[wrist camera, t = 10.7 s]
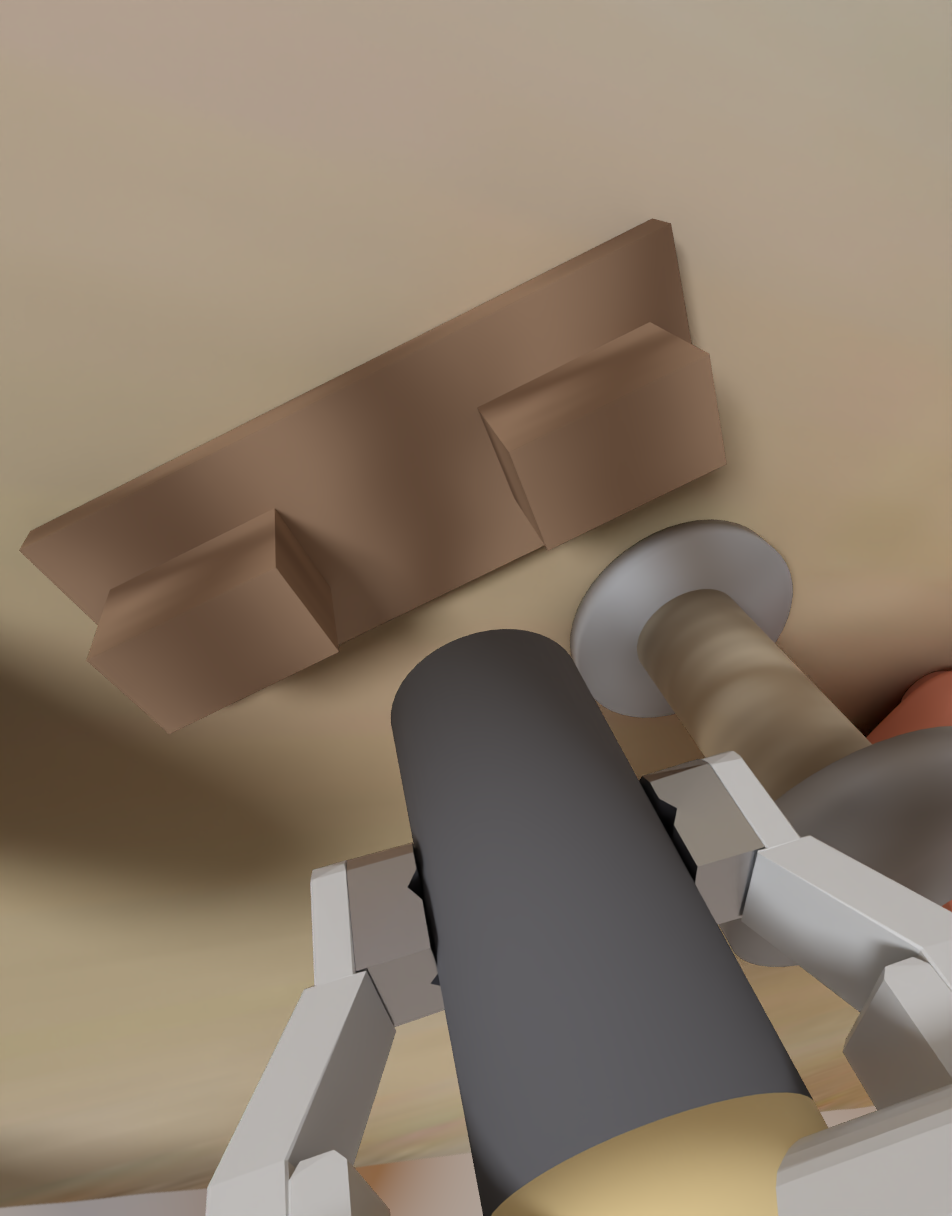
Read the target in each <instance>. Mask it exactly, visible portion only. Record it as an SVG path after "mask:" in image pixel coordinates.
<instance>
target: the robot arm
mask: <svg viewBox="0 0 952 1216" xmlns="http://www.w3.org/2000/svg"><path fill="white" fill-rule="evenodd" d="M639 782H640V784H641V786H642V788H643V789H644V791H645V793H646V795H647V797H648V799H649V800H650V802H651V804H652V806H653V808H654V809H655V811H656V813H657V815H658V817H659V819H660V820H661V822H662V824H663V826H664V828H665V830H666V831H667V833H668V835H669V837H670V839H671V841H672V842H673V844H674V846H675V848H676V850H677V852H678V853H679V855H680V857H681V859H682V861H683V863H684V864H685V866H686V868H687V870H688V872H689V874H690V875H691V877H692V879H693V881H694V883H695V885H696V886H697V888H698V890H699V892H700V894H701V896H702V897H703V899H704V901H705V903H706V905H707V907H708V908H709V910H710V912H711V914H712V916H713V918H714V919H715V921H716V923H717V924H721V923H724V922H728V921H731V920H735V919H738V918H742V919H741V921H742V922H743V923H744V924H746V925H747V926H748V927H750V928H751V929H752V930H753V931H755V932H756V933H757V934H759V935H760V936H761V937H763V938H764V939H765V940H767V941H768V942H769V943H770V944H772V945H773V946H774V947H776V948H777V949H778V950H780V951H781V952H782V953H783V954H785V955H786V956H787V957H789V958H790V959H791V960H793V961H794V962H795V963H796V964H798V965H799V966H800V967H802V968H803V969H804V970H806V971H807V972H808V973H810V974H811V975H812V976H813V977H815V978H816V979H817V980H819V981H820V982H821V983H823V984H824V985H825V986H826V987H828V988H829V989H830V990H832V991H833V992H834V993H836V994H837V995H838V996H839V997H841V998H842V999H843V1000H845V1001H846V1002H847V1003H849V1004H850V1005H851V1006H852V1007H854V1008H855V1009H856V1010H858V1011H859V1012H860V1014H859V1016H858V1018H857V1020H856V1021H855V1023H854V1025H853V1027H852V1029H851V1031H850V1033H849V1034H848V1036H847V1038H846V1040H845V1044H844V1049H843V1053H844V1055H845V1057H846V1058H847V1060H848V1062H849V1063H850V1065H851V1067H852V1068H853V1070H854V1072H855V1073H856V1075H857V1077H858V1078H859V1080H860V1082H861V1084H862V1085H863V1087H864V1089H865V1090H866V1092H867V1094H868V1095H869V1097H870V1099H871V1100H872V1102H873V1104H874V1105H875V1107H876V1109H877V1111H875V1112H872V1113H869V1114H866V1115H863V1116H861V1117H858V1118H855V1119H852V1120H849V1121H847V1122H844V1123H841V1124H838V1125H836V1126H833V1127H830V1128H827V1129H824V1130H822V1131H819V1132H816V1133H813V1134H811V1135H808V1136H805V1137H803V1138H800V1139H799V1140H798V1141H796V1142H795V1143H794V1144H793V1145H792V1146H791V1147H790V1148H789V1149H788V1151H787V1153H786V1155H785V1156H784V1158H783V1160H782V1162H781V1164H780V1167H779V1169H778V1171H777V1180H776V1195H777V1207H778V1216H952V912H951V911H949V910H947V909H945V908H943V907H941V906H940V905H938V904H936V903H934V902H932V901H930V900H929V899H927V898H925V897H923V896H921V895H919V894H917V893H916V892H914V891H912V890H910V889H908V888H906V887H905V886H903V885H901V884H899V883H897V882H895V881H894V880H892V879H890V878H888V877H886V876H884V875H882V874H881V873H879V872H877V871H875V870H873V869H871V868H870V867H868V866H866V865H864V864H862V863H860V862H859V861H857V860H855V859H853V858H851V857H849V856H848V855H846V854H844V853H842V852H840V851H838V850H836V849H835V848H833V847H831V846H829V845H827V844H825V843H824V842H822V841H820V840H818V839H816V838H814V837H813V836H811V835H808V836H804V837H800V836H799V834H798V833H797V832H796V830H795V829H794V828H793V826H792V825H791V824H790V822H789V821H788V819H787V818H786V817H785V815H784V814H783V813H782V811H781V810H780V809H779V807H778V806H777V805H776V803H775V802H774V801H773V799H772V798H771V796H770V795H769V794H768V792H767V791H766V790H765V788H764V787H763V786H762V784H761V783H760V782H759V780H758V779H757V777H756V776H755V775H754V773H753V772H752V771H751V769H750V768H749V767H748V765H747V764H746V763H745V761H744V760H743V758H742V757H741V756H740V755H739V754H737V753H736V752H734V751H726V752H723V753H720V754H716V755H713V756H710V757H706V758H703V759H696V760H693V761H690V762H687V763H683V764H680V765H677V766H673V767H670V768H667V769H664V770H660V771H657V772H654V773H651V774H647V775H644V776H642V777H641V779H640V780H639ZM310 886H311V910H312V935H313V959H314V983H315V985H314V986H311V987H309V988H306V989H304V991H303V993H302V995H301V997H300V999H299V1001H298V1003H297V1005H296V1007H295V1009H294V1011H293V1013H292V1015H291V1017H290V1019H289V1021H288V1023H287V1025H286V1027H285V1029H284V1032H283V1034H282V1036H281V1038H280V1040H279V1042H278V1044H277V1046H276V1048H275V1050H274V1052H273V1054H272V1056H271V1058H270V1060H269V1062H268V1064H267V1066H266V1068H265V1070H264V1073H263V1075H262V1077H261V1079H260V1081H259V1083H258V1085H257V1087H256V1089H255V1091H254V1093H253V1095H252V1097H251V1099H250V1101H249V1103H248V1105H247V1107H246V1109H245V1111H244V1114H243V1116H242V1118H241V1120H240V1122H239V1124H238V1126H237V1128H236V1130H235V1132H234V1134H233V1136H232V1138H231V1140H230V1142H229V1144H228V1146H227V1148H226V1150H225V1152H224V1155H223V1157H222V1159H221V1161H220V1163H219V1165H218V1167H217V1169H216V1171H215V1173H214V1175H213V1177H212V1179H211V1181H210V1183H209V1185H208V1187H207V1199H206V1214H205V1216H390V1210H389V1208H388V1207H387V1206H386V1205H385V1203H384V1202H383V1201H382V1200H381V1199H380V1198H379V1196H378V1195H377V1194H376V1193H375V1192H374V1191H373V1190H372V1188H371V1187H370V1186H369V1185H368V1184H367V1182H366V1181H365V1180H364V1179H363V1177H362V1176H361V1175H360V1174H359V1173H358V1172H357V1170H356V1169H355V1168H354V1167H353V1165H354V1162H355V1158H356V1155H357V1152H358V1149H359V1146H360V1143H361V1140H362V1136H363V1133H364V1130H365V1127H366V1124H367V1121H368V1118H369V1114H370V1111H371V1108H372V1105H373V1102H374V1099H375V1096H376V1092H377V1089H378V1086H379V1083H380V1080H381V1077H382V1074H383V1070H384V1067H385V1064H386V1061H387V1058H388V1055H389V1052H390V1049H391V1045H392V1042H393V1039H394V1036H395V1033H396V1030H395V1028H394V1027H396V1026H399V1025H402V1024H405V1023H408V1022H411V1021H414V1020H417V1019H420V1018H422V1017H425V1016H428V1015H431V1014H434V1013H437V1012H440V1011H443V1010H445V1008H444V1003H443V998H442V992H441V987H440V982H439V976H438V971H437V962H436V956H435V951H434V945H433V940H432V935H431V929H430V924H429V918H428V915H427V912H426V907H425V902H424V896H423V886H422V881H421V876H420V871H419V866H418V861H417V856H416V850H415V847H414V844H413V842H412V843H408V844H405V845H401V846H397V847H394V848H390V849H386V850H383V851H379V852H376V853H372V854H368V855H365V856H361V857H357V858H354V859H350V860H345V861H341V862H338V863H334V864H331V865H327V866H324V867H321V868H317V869H314V870H312V876H311V882H310Z"/></svg>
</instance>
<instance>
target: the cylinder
mask: <svg viewBox="0 0 952 1216" xmlns="http://www.w3.org/2000/svg"><path fill="white" fill-rule="evenodd" d="M391 725H392V731H393V736H394V742H395V747H396V752H397V758H398V763H399V768H400V774H401V779H402V784H403V790H404V795H405V800H406V806H407V811H408V816H409V822H410V827H411V832H412V838H413V843H414V847H415V850H416V856H417V861H418V866H419V871H420V876H421V881H422V886H423V896H424V902H425V907H426V912H427V915H428V918H429V924H430V929H431V935H432V940H433V945H434V951H435V956H436V962H437V971H438V976H439V982H440V987H441V992H442V998H443V1003H444V1008H445V1014H446V1019H447V1024H448V1030H449V1035H450V1041H451V1046H452V1051H453V1057H454V1062H455V1067H456V1073H457V1078H458V1083H459V1089H460V1094H461V1099H462V1105H463V1110H464V1115H465V1121H466V1126H467V1131H468V1137H469V1142H470V1147H471V1153H472V1158H473V1163H474V1169H475V1174H476V1179H477V1185H478V1190H479V1195H480V1200H481V1206H482V1211H483V1216H778V1207H777V1195H776V1180H777V1171H778V1169H779V1167H780V1164H781V1162H782V1160H783V1158H784V1156H785V1155H786V1153H787V1151H788V1149H789V1148H790V1147H791V1146H792V1145H793V1144H794V1143H795V1142H796V1141H798V1140H799V1139H800V1138H803V1137H805V1136H808V1135H811V1134H813V1133H816V1132H819V1131H822V1130H824V1129H827V1128H828V1127H827V1125H826V1123H825V1121H824V1119H823V1117H822V1115H821V1114H820V1112H819V1110H818V1108H817V1106H816V1104H815V1103H814V1101H813V1099H812V1097H811V1095H810V1093H809V1092H808V1090H807V1088H806V1086H805V1084H804V1082H803V1081H802V1079H801V1077H800V1075H799V1073H798V1071H797V1070H796V1068H795V1066H794V1064H793V1062H792V1060H791V1059H790V1057H789V1055H788V1053H787V1051H786V1049H785V1048H784V1046H783V1044H782V1042H781V1040H780V1038H779V1037H778V1035H777V1033H776V1031H775V1029H774V1027H773V1026H772V1024H771V1022H770V1020H769V1018H768V1016H767V1015H766V1013H765V1011H764V1009H763V1007H762V1005H761V1004H760V1002H759V1000H758V998H757V996H756V994H755V993H754V991H753V989H752V987H751V985H750V983H749V982H748V980H747V978H746V976H745V974H744V973H743V971H742V969H741V967H740V965H739V963H738V962H737V960H736V958H735V956H734V954H733V952H732V951H731V949H730V947H729V945H728V943H727V941H726V940H725V938H724V936H723V934H722V932H721V930H720V929H719V927H718V925H717V923H716V921H715V919H714V918H713V916H712V914H711V912H710V910H709V908H708V907H707V905H706V903H705V901H704V899H703V897H702V896H701V894H700V892H699V890H698V888H697V886H696V885H695V883H694V881H693V879H692V877H691V875H690V874H689V872H688V870H687V868H686V866H685V864H684V863H683V861H682V859H681V857H680V855H679V853H678V852H677V850H676V848H675V846H674V844H673V842H672V841H671V839H670V837H669V835H668V833H667V831H666V830H665V828H664V826H663V824H662V822H661V820H660V819H659V817H658V815H657V813H656V811H655V809H654V808H653V806H652V804H651V802H650V800H649V799H648V797H647V795H646V793H645V791H644V789H643V788H642V786H641V784H640V782H639V780H638V778H637V777H636V775H635V773H634V771H633V769H632V767H631V766H630V764H629V762H628V760H627V758H626V756H625V755H624V753H623V751H622V749H621V747H620V745H619V744H618V742H617V740H616V738H615V736H614V734H613V733H612V731H611V729H610V727H609V725H608V723H607V722H606V720H605V718H604V716H603V714H602V712H601V711H600V709H599V707H598V705H597V703H596V701H595V700H594V698H593V696H592V694H591V692H590V690H589V689H588V687H587V685H586V683H585V681H584V679H583V678H582V676H581V674H580V672H579V670H578V668H577V667H576V665H575V663H574V661H573V659H572V658H571V656H570V655H569V654H568V653H567V651H566V650H565V649H564V648H562V647H561V646H560V645H559V644H558V643H556V642H554V641H553V640H551V639H549V638H547V637H545V636H542V635H540V634H537V633H533V632H529V631H523V630H516V629H499V630H489V631H484V632H479V633H474V634H471V635H468V636H464V637H462V638H459V639H457V640H454V641H452V642H450V643H448V644H446V645H444V646H442V647H440V648H439V649H437V650H436V651H434V652H433V653H431V654H430V655H428V656H427V657H426V658H424V659H423V660H422V661H421V662H420V663H418V664H417V665H416V666H415V667H414V669H413V670H412V671H411V672H410V673H409V674H408V675H407V677H406V678H405V679H404V681H403V682H402V684H401V685H400V687H399V689H398V691H397V693H396V696H395V698H394V701H393V705H392V710H391Z"/></svg>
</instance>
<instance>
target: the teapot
mask: <svg viewBox="0 0 952 1216" xmlns="http://www.w3.org/2000/svg"><path fill="white" fill-rule="evenodd" d="M941 726H952V671H947V672H946V671H937V672H933V673H930V674H928V675H926V676H924V677H922V678H921V679H919V680H918V681H916V682H915V683H914V684H913V685H912V686H911V687H910V688H909V689H908V690H907V691H906V692H905V694H904V696H903V698H902V700H901V703H900V704H899V705H898V706H897V707H896V708H895V709H894V710H893V711H892V712H891V713H890V714H889V715H888V716H887V717H886V718H885V719H884V720H883V721H882V722H881V723H880V724H879V725H878V726H877V727H876V728H875V729H874V730H873V731H872V732H871V733H870V734H869V735H868V736H867V737H866V738H867V739H868V741H869V742H870V743H871V744H874V743H877V742H880V741H883V740H886V739H889V738H892V737H894V736H897V735H901V734H905V733H909V732H913V731H917V730H921V729H927V728H934V727H941ZM941 907H943V908H945V909H947V910H949V911H951V912H952V900H950V901H949V902H947V903H946V904H944V905H943V906H941Z"/></svg>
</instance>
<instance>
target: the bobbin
mask: <svg viewBox="0 0 952 1216" xmlns="http://www.w3.org/2000/svg"><path fill="white" fill-rule="evenodd" d="M792 596H793V587H792V579H791V574H790V571H789V569H788V566H787V564H786V562H785V561H784V559H783V558H782V556H781V555H780V554H779V553H778V552H777V551H776V550H775V549H774V548H773V547H772V546H770V545H769V544H768V543H767V542H766V541H764V540H763V539H762V538H761V537H760V536H759V535H757V534H756V533H755V532H753V531H752V530H750V529H748V528H747V527H744V526H742V525H739V524H737V523H733V522H728V521H723V520H697V521H692V522H686V523H682V524H678V525H675V526H672V527H668V528H666V529H663V530H661V531H659V532H656V533H654V534H652V535H650V536H648V537H646V538H645V539H643V540H641V541H639V542H637V543H636V544H635V545H633V546H632V547H630V548H629V549H627V550H626V551H624V552H623V553H622V554H621V555H620V556H618V557H617V558H616V559H615V560H613V561H612V562H611V563H610V564H609V565H608V566H607V567H606V568H605V569H604V570H603V571H602V572H601V574H600V575H599V576H598V577H597V579H596V580H595V581H594V582H593V583H592V585H591V586H590V588H589V589H588V591H587V592H586V594H585V596H584V597H583V599H582V601H581V603H580V605H579V607H578V609H577V612H576V615H575V618H574V621H573V625H572V630H571V637H570V648H571V656H572V659H573V661H574V663H575V665H576V667H577V668H578V670H579V672H580V674H581V676H582V678H583V679H584V681H585V683H586V685H587V687H588V689H589V690H590V692H591V694H592V696H593V698H594V699H595V700H596V701H598V702H599V703H600V704H601V705H602V706H604V707H606V708H607V709H609V710H611V711H614V712H616V713H619V714H622V715H627V716H631V717H642V718H645V717H660V716H667V715H672V714H676V715H677V717H678V718H679V720H680V721H681V723H682V724H683V726H684V727H685V728H686V730H687V731H688V733H689V734H690V736H691V737H692V739H693V740H694V742H695V743H696V745H697V746H698V747H699V749H700V750H701V752H702V753H703V755H704V756H705V758H706V757H710V756H713V755H716V754H720V753H723V752H726V751H734V752H736V753H737V754H739V755H740V756H741V757H742V758H743V760H744V761H745V763H746V764H747V765H748V767H749V768H750V769H751V771H752V772H753V773H754V775H755V776H756V777H757V779H758V780H759V782H760V783H761V784H762V786H763V787H764V788H765V790H766V791H767V792H768V794H769V795H770V796H771V798H772V799H773V801H774V802H775V803H776V805H777V806H778V807H779V809H780V810H781V811H782V813H783V814H784V815H785V817H786V818H787V819H788V821H789V822H790V824H791V825H792V826H793V828H794V829H795V830H796V832H797V833H798V834H799V836H800V837H804V836H808V835H811V836H813V837H814V838H816V839H818V840H820V841H822V842H824V843H825V844H827V845H829V846H831V847H833V848H835V849H836V850H838V851H840V852H842V853H844V854H846V855H848V856H849V857H851V858H853V859H855V860H857V861H859V862H860V863H862V864H864V865H866V866H868V867H870V868H871V869H873V870H875V871H877V872H879V873H881V874H882V875H884V876H886V877H888V878H890V879H892V880H894V881H895V882H897V883H899V884H901V885H903V886H905V887H906V888H908V889H910V890H912V891H914V892H916V893H917V894H919V895H921V896H923V897H925V898H927V899H929V900H930V901H932V902H934V903H936V904H938V905H940V906H943V905H944V904H946V903H947V902H949V901H950V900H952V726H941V727H934V728H927V729H921V730H917V731H913V732H909V733H905V734H901V735H897V736H894V737H892V738H889V739H886V740H883V741H880V742H877V743H874V744H871V743H870V742H869V741H868V739H867V738H866V737H865V736H864V735H863V734H862V733H861V732H860V731H859V730H858V729H857V728H856V727H855V726H854V725H853V724H852V723H851V722H850V721H849V720H848V719H847V718H846V717H845V716H844V715H843V714H842V712H841V711H840V710H839V709H838V708H837V707H836V706H835V705H834V704H833V703H832V702H831V701H830V700H829V699H828V698H827V697H826V696H825V695H824V694H823V693H822V692H821V691H820V690H819V689H818V688H817V687H816V685H815V684H814V683H813V682H812V681H811V680H810V679H809V678H808V677H807V676H806V675H805V674H804V673H803V672H802V671H801V670H800V669H799V668H798V667H797V666H796V665H795V664H794V663H793V662H792V661H791V660H790V658H789V657H788V656H787V655H786V654H785V653H784V652H783V651H782V650H781V649H780V648H779V647H778V646H777V645H776V644H775V642H776V641H777V639H778V637H779V636H780V634H781V632H782V630H783V628H784V626H785V623H786V621H787V619H788V615H789V612H790V608H791V603H792ZM741 919H742V918H738V919H735V920H731V921H728V922H724V923H721V924H719V926H720V928H721V929H722V931H723V933H724V935H725V937H726V938H727V940H728V942H729V944H730V946H731V947H732V949H733V951H734V952H735V953H736V954H737V955H738V956H739V957H740V958H741V959H743V960H745V961H747V962H749V963H752V964H756V965H760V966H769V967H785V966H795V965H798V964H796V963H795V962H794V961H793V960H791V959H790V958H789V957H787V956H786V955H785V954H783V953H782V952H781V951H780V950H778V949H777V948H776V947H774V946H773V945H772V944H770V943H769V942H768V941H767V940H765V939H764V938H763V937H761V936H760V935H759V934H757V933H756V932H755V931H753V930H752V929H751V928H750V927H748V926H747V925H746V924H744V923H743V922H742V921H741Z"/></svg>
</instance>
